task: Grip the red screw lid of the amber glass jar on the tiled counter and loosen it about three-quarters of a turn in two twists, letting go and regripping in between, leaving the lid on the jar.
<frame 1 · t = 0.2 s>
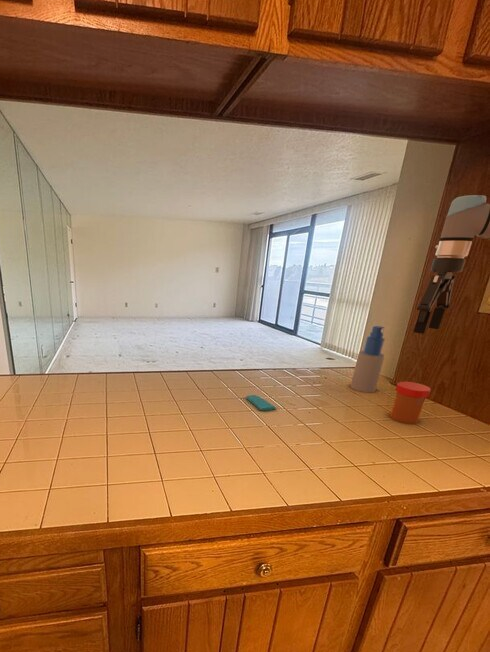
hand: (426, 330, 109), 28 cm above the worktop, tool pointing down, fingers open, 13 cm apart
sponge: (260, 404, 123), on the worktop
jar: (403, 418, 114), on the worktop
lid: (413, 387, 110), point 11 cm above the worktop, screwed on, not yet turned
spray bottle: (362, 388, 140), on the worktop
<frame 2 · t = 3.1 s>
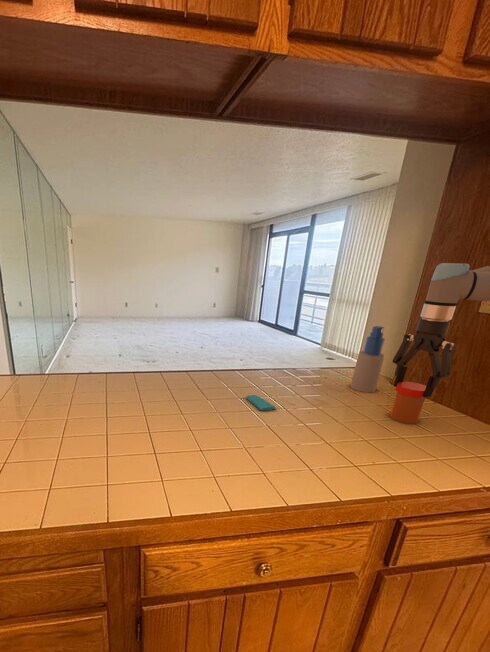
hand: (411, 390, 110), 10 cm above the worktop, tool pointing down, fingers open, 9 cm apart
nothing on the worktop moved.
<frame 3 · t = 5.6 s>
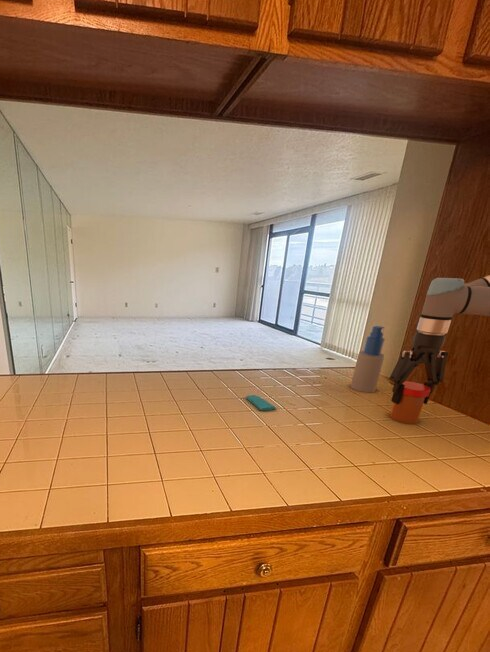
hand: (408, 402, 112), 6 cm above the worktop, tool pointing down, fingers closed on lid, 9 cm apart
lid: (413, 386, 110), point 11 cm above the worktop, turned 72° so far, risen 0.1 cm, still on its thread, touching gripper
everything else where it was.
when the fingers open (5 cm above the worktop, at t = 7.1 s): lid stays where it is, point 11 cm above the worktop.
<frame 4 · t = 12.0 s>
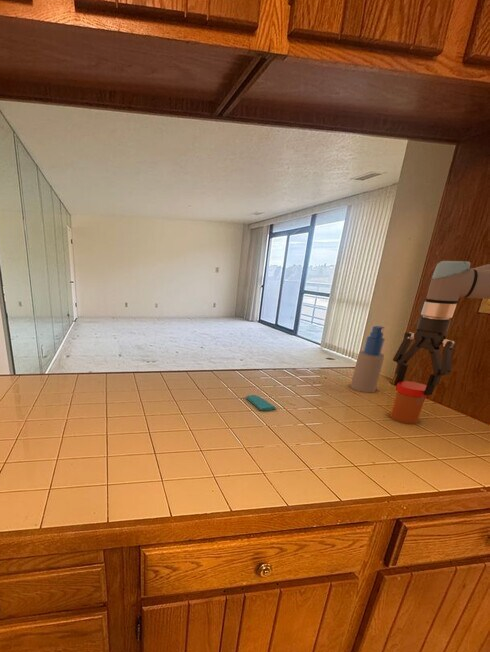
hand: (412, 389, 110), 10 cm above the worktop, tool pointing down
lid: (413, 386, 110), point 11 cm above the worktop, turned 134° so far, risen 0.2 cm, still on its thread, touching gripper
everything else where it was.
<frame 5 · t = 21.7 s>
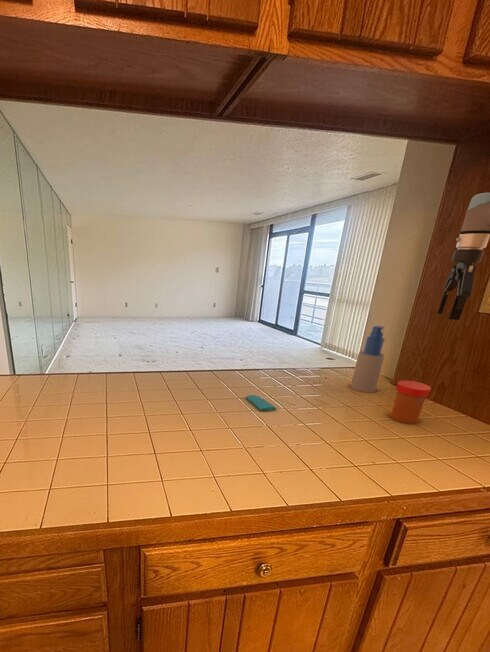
hand: (447, 316, 119), 31 cm above the worktop, tool pointing down, fingers open, 13 cm apart
lid: (413, 385, 110), point 11 cm above the worktop, turned 269° so far, risen 0.4 cm, still on its thread
everything else where it was.
at the end: lid turned 0.75 turns (still on its thread); lid is still on its thread (0.75 turns); jar tilted 0° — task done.
